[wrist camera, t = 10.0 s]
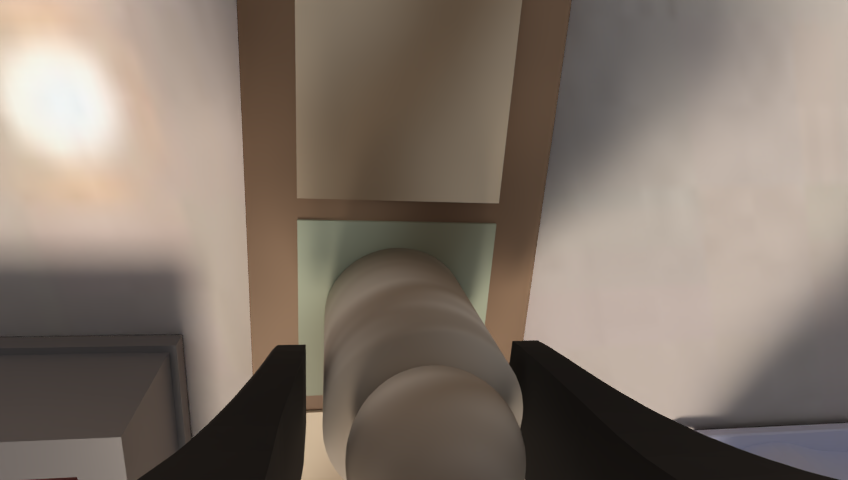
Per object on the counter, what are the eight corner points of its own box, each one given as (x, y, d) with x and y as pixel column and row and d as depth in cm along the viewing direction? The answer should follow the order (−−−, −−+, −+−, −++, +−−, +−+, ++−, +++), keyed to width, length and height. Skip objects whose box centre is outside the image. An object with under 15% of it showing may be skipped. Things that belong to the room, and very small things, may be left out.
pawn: (469, 248, 15) (597, 407, 8) (458, 374, 16) (561, 612, 9) (325, 247, 14) (320, 420, 7) (323, 379, 15) (319, 642, 8)
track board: (565, -18, 14) (576, -21, 13) (474, 640, 21) (478, 659, 21) (238, -50, 12) (233, -55, 12) (268, 663, 20) (265, 684, 20)
